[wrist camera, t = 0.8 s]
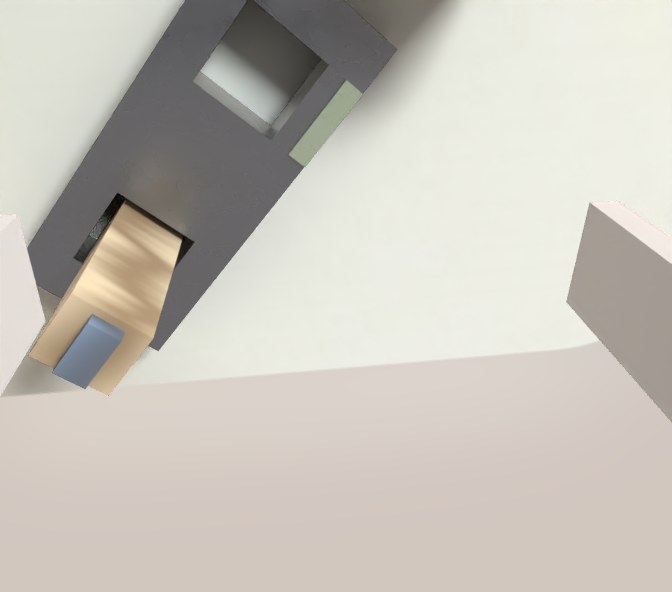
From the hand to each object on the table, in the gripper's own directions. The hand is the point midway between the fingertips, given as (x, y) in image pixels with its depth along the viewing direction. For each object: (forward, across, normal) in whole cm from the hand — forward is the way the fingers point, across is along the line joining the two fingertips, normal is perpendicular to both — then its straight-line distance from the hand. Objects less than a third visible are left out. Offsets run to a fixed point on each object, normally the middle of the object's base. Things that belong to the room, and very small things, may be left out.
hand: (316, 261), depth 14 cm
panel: (+25, -5, -4) cm, 26 cm away
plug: (+25, -10, -9) cm, 28 cm away
